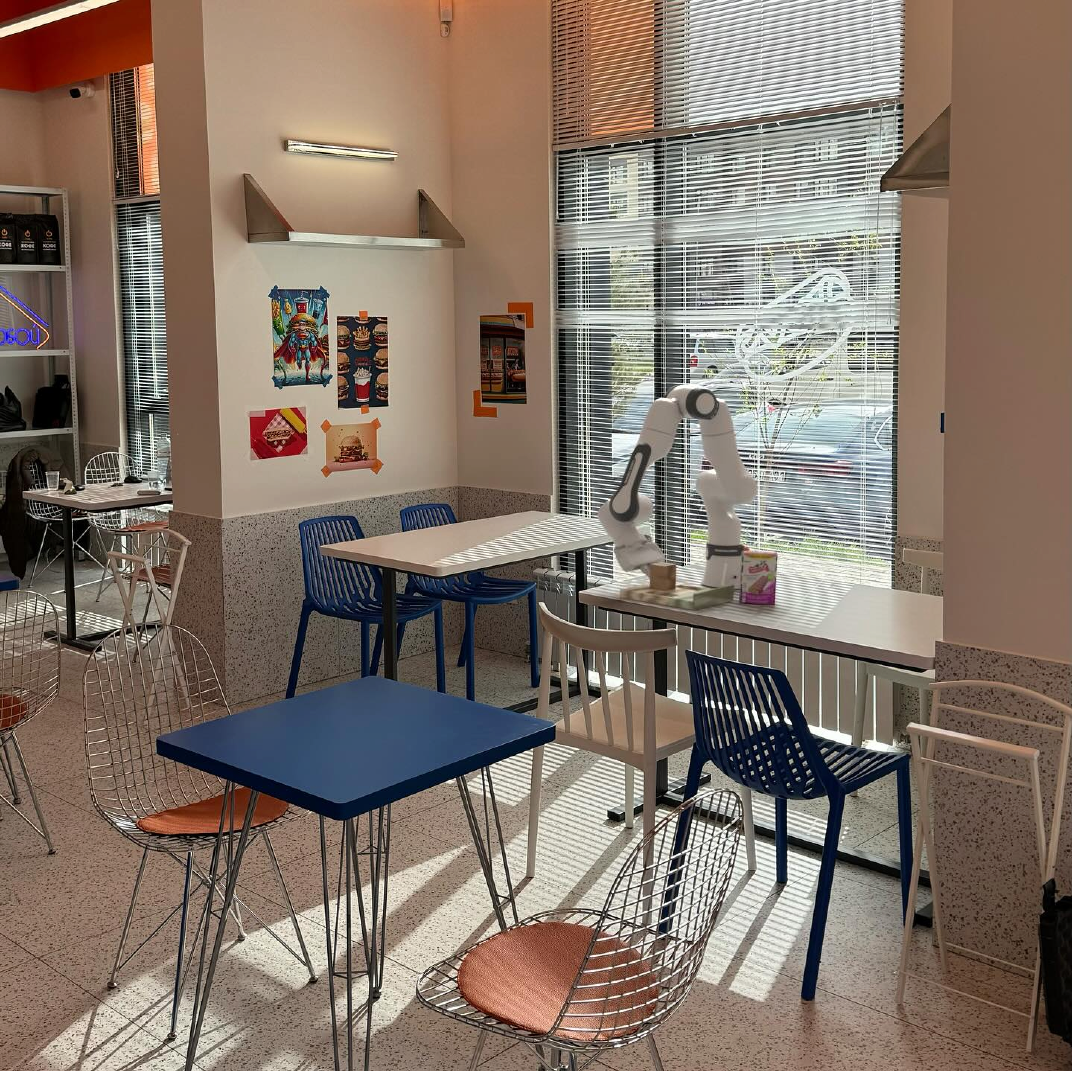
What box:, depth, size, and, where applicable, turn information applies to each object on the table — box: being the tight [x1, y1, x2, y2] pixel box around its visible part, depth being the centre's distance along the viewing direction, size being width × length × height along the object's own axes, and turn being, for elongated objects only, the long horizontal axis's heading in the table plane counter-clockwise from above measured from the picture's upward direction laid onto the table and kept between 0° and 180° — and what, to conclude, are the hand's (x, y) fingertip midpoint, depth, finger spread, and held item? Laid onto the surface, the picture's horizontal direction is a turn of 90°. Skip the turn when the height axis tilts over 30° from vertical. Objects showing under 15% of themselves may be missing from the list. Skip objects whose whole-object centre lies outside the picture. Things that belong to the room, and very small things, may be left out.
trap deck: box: [619, 582, 735, 611], centre depth 400 cm, size 29×22×5 cm
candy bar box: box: [738, 550, 779, 606], centre depth 394 cm, size 11×5×16 cm, turn 84°
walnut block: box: [649, 561, 677, 591], centre depth 403 cm, size 6×6×8 cm
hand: (653, 577), depth 406 cm, fingers closed
